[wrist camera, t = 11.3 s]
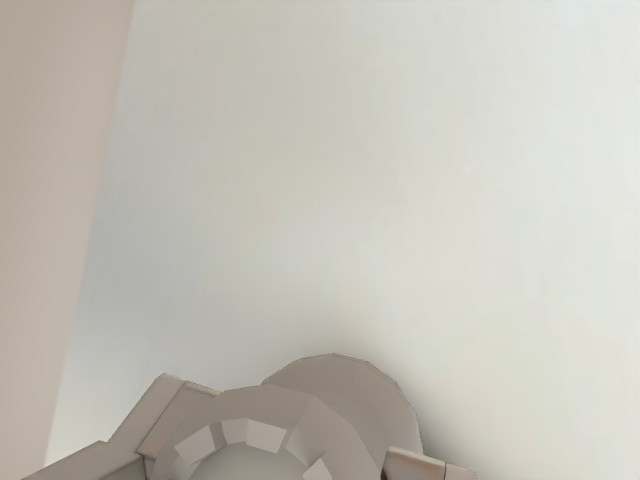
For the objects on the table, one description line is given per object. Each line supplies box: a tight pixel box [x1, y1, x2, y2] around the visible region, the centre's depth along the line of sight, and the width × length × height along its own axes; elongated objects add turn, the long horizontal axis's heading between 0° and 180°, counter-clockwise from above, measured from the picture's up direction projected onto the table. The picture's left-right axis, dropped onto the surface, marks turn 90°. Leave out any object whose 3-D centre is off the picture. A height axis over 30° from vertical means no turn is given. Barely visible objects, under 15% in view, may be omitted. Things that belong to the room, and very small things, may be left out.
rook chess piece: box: [151, 353, 424, 480], centre depth 10 cm, size 4×4×8 cm
